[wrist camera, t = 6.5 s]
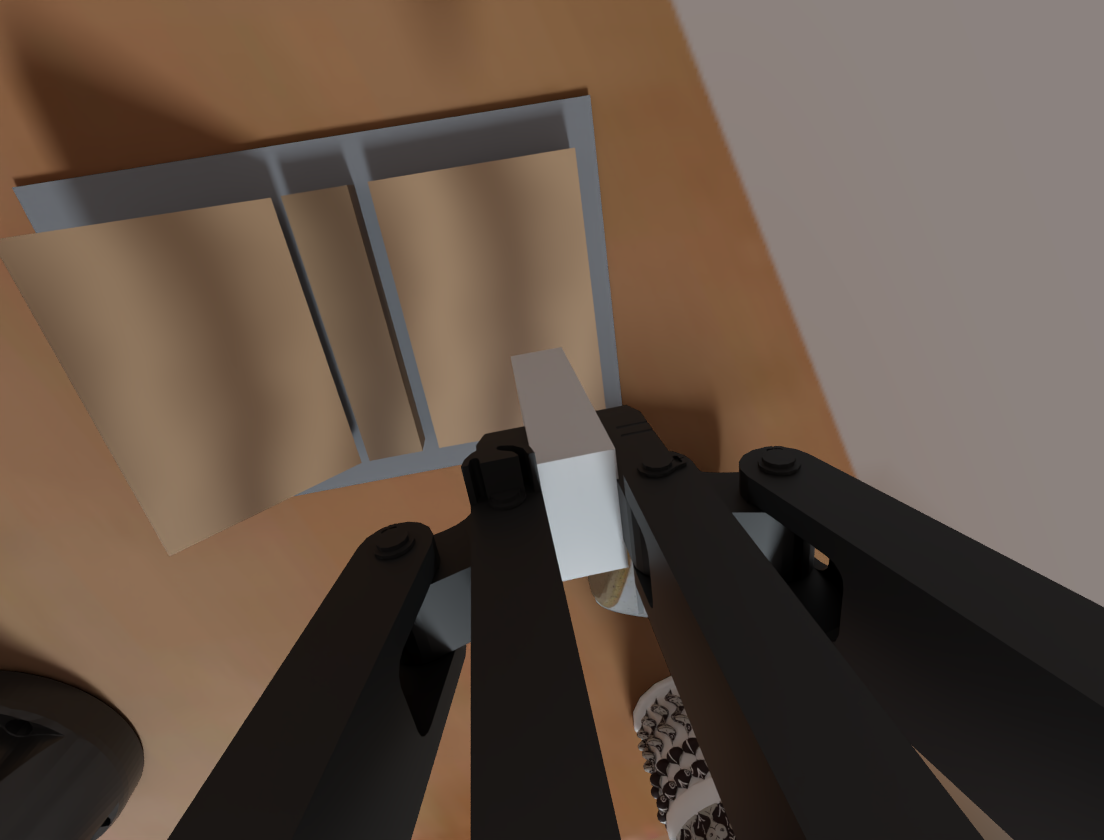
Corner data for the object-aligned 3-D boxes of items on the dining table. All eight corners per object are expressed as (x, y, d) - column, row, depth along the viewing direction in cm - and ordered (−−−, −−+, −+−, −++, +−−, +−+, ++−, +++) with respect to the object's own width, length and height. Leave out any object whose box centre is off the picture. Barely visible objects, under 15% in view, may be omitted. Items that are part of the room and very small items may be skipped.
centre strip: (374, 448, 30) (369, 461, 28) (291, 194, 24) (280, 196, 23) (425, 438, 30) (422, 450, 29) (354, 184, 24) (346, 185, 23)
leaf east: (441, 436, 30) (439, 447, 29) (374, 181, 24) (367, 181, 23) (602, 407, 30) (606, 418, 29) (570, 148, 25) (575, 147, 23)
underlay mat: (188, 513, 30) (185, 516, 30) (17, 187, 23) (12, 187, 23) (623, 431, 32) (625, 433, 31) (588, 95, 24) (590, 95, 24)
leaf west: (162, 544, 24) (169, 556, 23) (-9, 240, 19) (-9, 240, 18) (350, 456, 29) (361, 462, 28) (259, 199, 24) (270, 197, 23)
